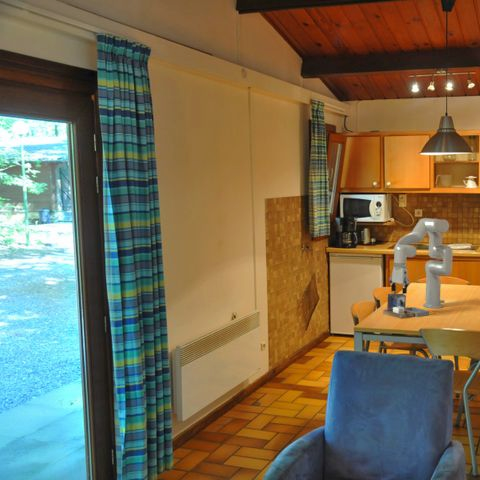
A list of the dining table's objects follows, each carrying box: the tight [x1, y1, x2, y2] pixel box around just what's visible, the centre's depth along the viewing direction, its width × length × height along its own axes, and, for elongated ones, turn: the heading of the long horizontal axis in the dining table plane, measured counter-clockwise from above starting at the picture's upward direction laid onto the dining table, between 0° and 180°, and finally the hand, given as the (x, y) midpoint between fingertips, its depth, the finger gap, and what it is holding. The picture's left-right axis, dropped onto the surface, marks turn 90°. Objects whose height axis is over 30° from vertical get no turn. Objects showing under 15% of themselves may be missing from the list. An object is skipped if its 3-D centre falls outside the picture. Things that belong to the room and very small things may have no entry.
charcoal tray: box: [404, 306, 430, 318], centre depth 453 cm, size 11×15×3 cm
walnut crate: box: [382, 308, 414, 320], centre depth 449 cm, size 11×16×3 cm
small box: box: [386, 293, 407, 310], centre depth 466 cm, size 11×6×10 cm, turn 101°
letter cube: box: [393, 307, 404, 314], centre depth 449 cm, size 5×5×5 cm
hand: (398, 292), depth 447 cm, fingers open, 9 cm apart
